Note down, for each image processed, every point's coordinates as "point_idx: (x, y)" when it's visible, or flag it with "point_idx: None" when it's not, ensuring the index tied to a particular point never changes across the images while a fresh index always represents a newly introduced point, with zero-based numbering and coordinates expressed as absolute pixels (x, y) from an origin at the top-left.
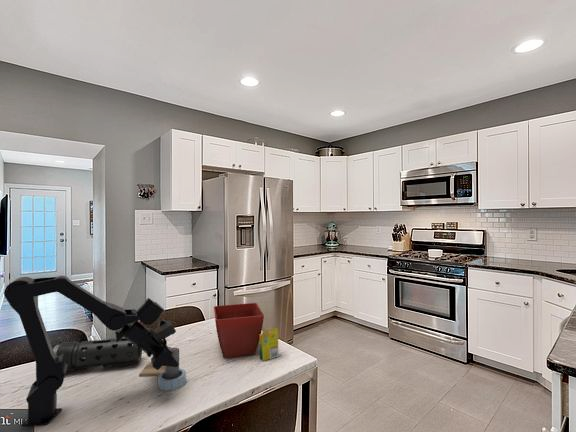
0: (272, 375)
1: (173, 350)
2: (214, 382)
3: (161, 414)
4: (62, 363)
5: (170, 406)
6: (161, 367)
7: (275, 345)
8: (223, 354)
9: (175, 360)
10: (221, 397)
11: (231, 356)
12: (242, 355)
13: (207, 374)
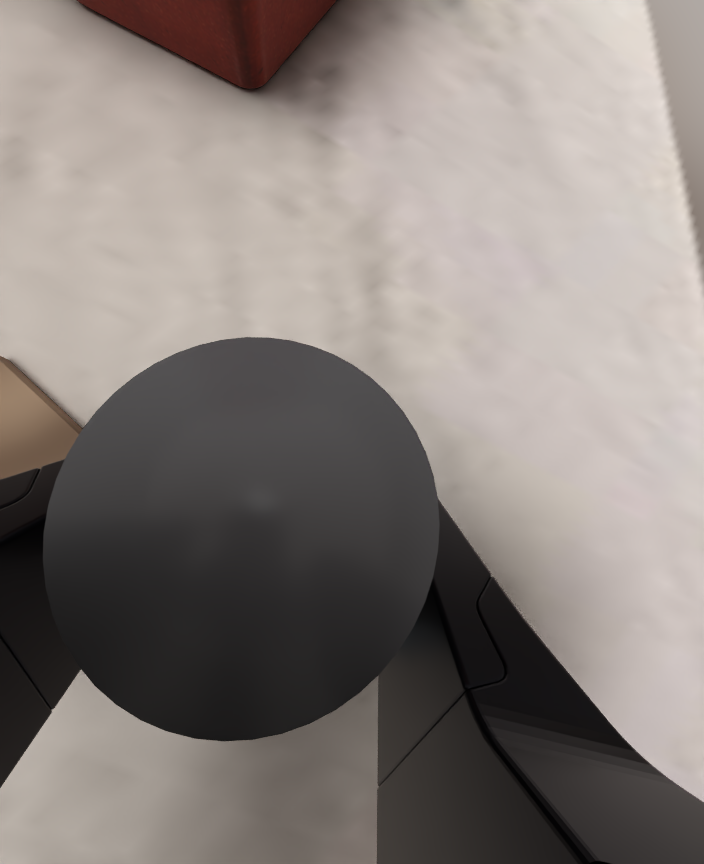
0: (635, 62)
1: (276, 492)
2: (500, 298)
3: (653, 747)
4: None
5: (595, 652)
6: (5, 474)
7: None
8: (252, 61)
9: (462, 535)
10: (683, 359)
11: (286, 53)
12: (325, 11)
13: (374, 274)
